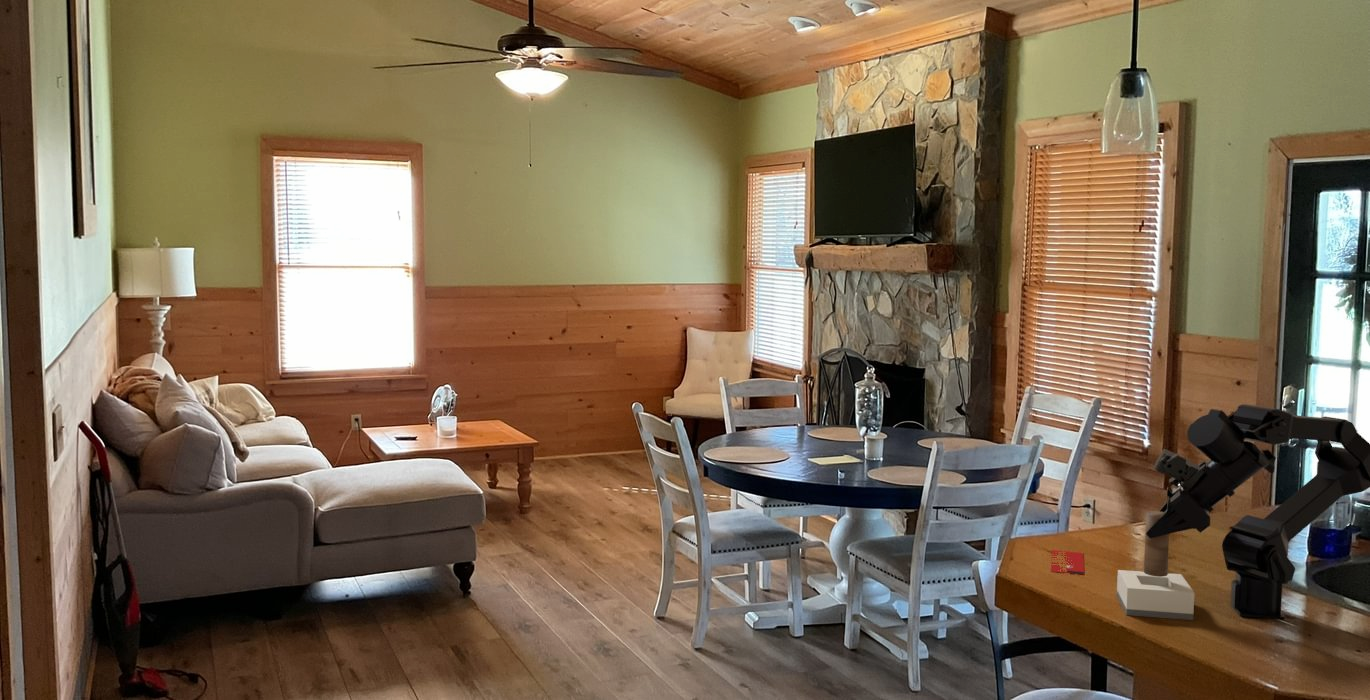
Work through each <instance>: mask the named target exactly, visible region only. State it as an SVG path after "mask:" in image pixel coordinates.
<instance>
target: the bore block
mask: <svg viewBox="0 0 1370 700" xmlns="http://www.w3.org/2000/svg"><path fill="white" fill-rule="evenodd" d="M1116 580H1117V581H1116V597H1117V599H1118V602H1119V603H1120V606H1121V607H1122V610H1123V611H1124V613H1125V615H1126V616H1134V617H1147V618H1149V617H1150V618H1160V619H1162V618H1163V619H1172V620H1173V619H1175V620H1185V621H1186V620H1189V621H1193V620H1194V610H1195V609H1194V608H1195V606H1194V605H1195V592H1194V590H1193V589H1192V587H1191V586H1190V585H1189V583H1188V582H1187V581H1186V579H1185V577H1184V576H1183V575H1182V574H1181V573H1169V572H1168V575H1167V576H1161V577H1159V576H1151V575H1147V574H1145V573H1144V571H1139V570H1137V571H1136V570H1126V569H1125V570H1123V569H1118V570H1117V578H1116Z"/></svg>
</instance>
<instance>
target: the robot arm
mask: <svg viewBox="0 0 1370 700" xmlns="http://www.w3.org/2000/svg"><path fill="white" fill-rule="evenodd" d="M1186 433H1187V434H1186V435H1187V440H1188V441H1189V442H1190V444H1192V446H1194V447H1195V448H1196V449H1197V450H1199V452H1201V453H1202V454H1203V455H1205V456H1206V457H1207V458H1208V459H1209V461H1208V460H1202V461H1201V462H1200V463H1198V464H1196V463H1194V462H1192V461H1190V460H1188V459H1187V458H1186V457H1185V456H1184V457H1182V456H1181V455H1180V454H1179V453H1174V452H1172V451H1170V450H1169V449H1166V448H1163V450H1162V451H1161V453H1160V454H1159V456H1158V458H1157V460H1156V461H1155V463H1154V470H1155V471H1156V472H1159V473H1160V474H1161V475H1162V474H1166V475H1167V476H1169V477H1171V478H1170V479H1168V483H1169V484H1170V485H1171V486H1175V487H1173V488H1171V487H1170V486H1167V488H1166V500H1165V502H1164V503H1163V504H1162V506H1161V507H1160V509H1159V510H1158V511H1160V512H1164V513H1163V514H1162V515H1161V516H1160V517H1159V519H1158V520H1157V521H1156V522H1155V523H1154V524H1153V525H1152V526H1151V527H1150V529H1149V530H1148V531H1147V532H1146V535H1147V536H1148V537H1149V538H1154V537H1158V536H1162V535H1166V534H1169V535H1170V534H1174V533H1177V532H1183V531H1188V530H1196V531H1198V533H1202V532H1204V531H1205V530H1206V529H1207V528H1209V527H1210V526H1211V512H1212V511H1214V509H1215V508H1214V506H1216V505H1217V504H1218V503H1220V501H1223V500H1224V499H1225V498H1226V497H1227V496H1228V497H1229V498H1231V497H1232V496H1234V494H1236V491H1235V490H1237V489H1239V487H1241V486H1242V485H1243V484H1244V483H1246V482H1247V481H1248V480H1250V479H1251V478H1252V477H1254V476H1255V475H1256V474H1257V473H1259V472H1260V471H1261V470H1263V469H1265V471H1266V472H1268V473H1269V474H1273V473H1274V472H1275V469H1276V466H1275V461H1276V459H1277V457H1276V456H1275V455H1274V454H1273V453H1272V452H1271V451H1270V449H1261V448H1259V447H1258V445H1256V444H1254V443H1253V442H1255V443H1260V444H1266V445H1271V446H1272V445H1274V446H1275V445H1280V444H1286V443H1288V442H1289V441H1290V440H1293V439H1295V440H1296V439H1297V440H1307V441H1309V440H1310V441H1316V442H1317V443H1316V446H1315V450H1314V454H1315V456H1316V459H1317V460H1318V461H1317V464H1316V475H1315V476H1313V478H1311V479H1310V480H1309V481H1308V482H1306V483H1305V484H1304V485H1303V486H1302V487H1300V488H1299V489H1298V490H1297V491H1295V492H1294V493H1293V494H1292V495H1290V496H1289V497H1288V498H1287V499H1286V500H1285V501H1283V502H1282V503H1281V504H1280V505H1279V506H1278V507H1277V508H1275V509H1274V510H1273V511H1271V512H1270V513H1269V514H1268V515H1266V517H1263V518H1260V517H1256V516H1253V515H1249V514H1246V515H1244V516H1242V518H1241V519H1240V520H1238V522H1237V523H1236V524H1234V525H1231V526H1229V528H1230V530H1229V531H1228V532H1227V533H1226V535H1225V537H1224V538H1223V540H1222V545H1221V549H1222V553H1223V558H1224V562H1225V566H1226V570H1227V571H1229V572H1230V571H1232V572H1234V573H1235V578H1234V579H1232V580H1231V584H1230V586H1231V587H1230V605H1231V606H1232V607H1233V609H1234V610H1235V611H1236V613H1238V615H1239V616H1241V617H1246V618H1247V617H1248V618H1261V619H1272V620H1273V619H1274V620H1275V619H1276V620H1285V615H1284V614H1283V613H1282V599H1283V585H1286V584H1288V582H1292V581H1293V578H1294V575H1295V571H1296V567H1295V565H1294V564H1293V563H1292V562H1291V561H1290V559H1289V558H1288V556H1289V542H1290V541H1291V540H1292V539H1294V538H1295V537H1296V536H1297V535H1298V534H1299V533H1301V532H1302V531H1303V530H1304V529H1305V528H1307V526H1309V525H1310V524H1311V523H1312V522H1314V521H1315V520H1316V519H1317V518H1318V517H1319V516H1321V515H1322V514H1323V513H1324V512H1325V511H1327V510H1328V509H1329V508H1330V507H1332V505H1334V504H1335V503H1336V502H1337V501H1339V499H1340V498H1342V497H1345V496H1349V495H1355V494H1359V493H1363V492H1364V491H1367V490H1368V489H1370V442H1369V441H1367V440H1366V439H1365V438H1364V437H1363V436H1362V435H1360V433H1359V432H1358V431H1357V429H1356V427H1355V424H1353V422H1351V421H1350V420H1347V419H1344V418H1337V417H1331V416H1322V417H1318V416H1306V415H1305V416H1304V415H1293V414H1292V412H1287V411H1285V410H1282V409H1278V408H1275V407H1274V408H1272V407H1266V406H1259V405H1255V404H1253V405H1252V404H1247V403H1244V404H1240V405H1238V406H1237V409H1236V411H1233V412H1232V413H1230V414H1228V415H1227V414H1226V412H1224V411H1223V410H1222V409H1215V408H1210V410H1209V411H1208V413H1207V414H1206V415H1201V416H1200V417H1199V418H1197V419H1195V420H1194V421H1193V422H1192V423H1191V424H1190V425H1189V427H1188V429H1187V432H1186ZM1331 442H1332V443H1338V444H1341V445H1342V447H1340V446H1333V445H1332V443H1331Z"/></svg>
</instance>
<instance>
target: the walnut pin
mask: <svg viewBox="0 0 1370 700" xmlns="http://www.w3.org/2000/svg"><path fill="white" fill-rule="evenodd" d="M1163 513H1164V512H1160V511H1159V510H1158V511H1157V510H1150V511H1146V512H1145V526H1144V528H1145V530H1144V532H1145V533H1144V538H1145V539H1144V560H1143V572H1144V573H1145V574H1147V575H1151V576H1159V577H1161V576H1167V575H1168V573H1169V554H1170V553H1169V546H1170V534H1166V535H1162V536H1158V537H1154V538H1149V537H1148V536H1147V535H1146V532H1147V531H1148V530H1149V529H1150V527H1151V526H1152V525H1153V524H1154V523H1155V522H1156V521H1157V520H1158V519H1159V517H1160V516H1161V515H1162V514H1163Z"/></svg>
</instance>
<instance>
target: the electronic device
mask: <svg viewBox="0 0 1370 700" xmlns="http://www.w3.org/2000/svg"><path fill="white" fill-rule="evenodd" d="M1063 551H1064V552H1066V551H1065V550H1055V549H1053V550H1051V559H1052V558H1057V557H1052V556H1057V555H1058V554H1059V553H1058V552H1063ZM1052 552H1054V553H1052ZM1055 552H1057V553H1055ZM1052 554H1054V555H1052ZM1055 554H1057V555H1055ZM1061 554H1063V553H1061ZM1064 554H1066V555H1064V556H1067V558H1066V557H1064V558H1065V561H1066V562H1068V563H1069V564H1068V563H1066V564H1065V563H1064V564H1065V565H1066V567H1067V568H1066V570H1067V571H1066V572H1065V570H1064V571H1063V569H1062V568H1063V566H1062V567H1061V568H1060V566H1059V565H1051V564H1059V563H1058V562H1057V563H1055V562H1054V563H1053V562H1052V563H1051V564H1050V565H1051V566H1050V573H1054V572H1059V573H1058V574H1064V573H1070V574H1069V575H1075V574H1079V575H1078V576H1085V558H1084V553H1083V552H1078V551H1077V552H1075V551H1069V550H1068V551H1067V552H1066V553H1064ZM1061 556H1063V555H1061ZM1068 557H1070V558H1068ZM1066 559H1067V560H1066ZM1054 560H1055V559H1054ZM1057 560H1058V559H1057ZM1059 560H1060V559H1059ZM1062 560H1063V559H1062ZM1068 560H1069V561H1068ZM1071 560H1072V561H1071ZM1071 563H1072V564H1071ZM1061 564H1063V562H1062V563H1061ZM1073 564H1074V565H1073ZM1065 565H1064V566H1065ZM1068 565H1069V566H1068ZM1064 568H1065V567H1064ZM1060 569H1062V570H1061V572H1060ZM1058 570H1059V571H1058Z"/></svg>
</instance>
